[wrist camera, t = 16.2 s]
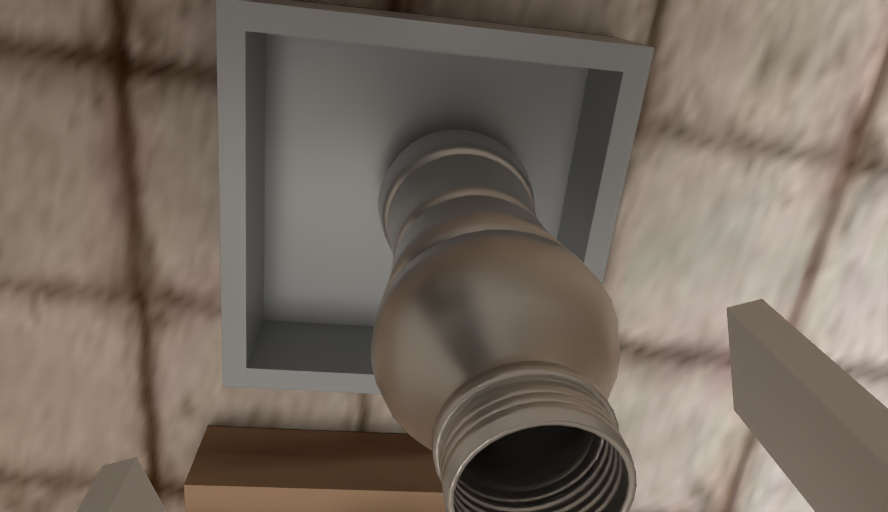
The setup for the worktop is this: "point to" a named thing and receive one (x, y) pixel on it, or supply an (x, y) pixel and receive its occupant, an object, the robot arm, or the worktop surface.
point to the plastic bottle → (495, 337)
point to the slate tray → (388, 161)
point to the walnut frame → (311, 472)
